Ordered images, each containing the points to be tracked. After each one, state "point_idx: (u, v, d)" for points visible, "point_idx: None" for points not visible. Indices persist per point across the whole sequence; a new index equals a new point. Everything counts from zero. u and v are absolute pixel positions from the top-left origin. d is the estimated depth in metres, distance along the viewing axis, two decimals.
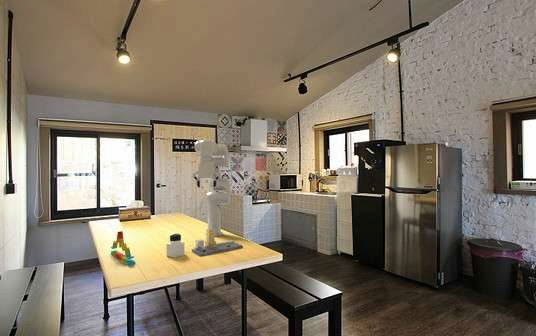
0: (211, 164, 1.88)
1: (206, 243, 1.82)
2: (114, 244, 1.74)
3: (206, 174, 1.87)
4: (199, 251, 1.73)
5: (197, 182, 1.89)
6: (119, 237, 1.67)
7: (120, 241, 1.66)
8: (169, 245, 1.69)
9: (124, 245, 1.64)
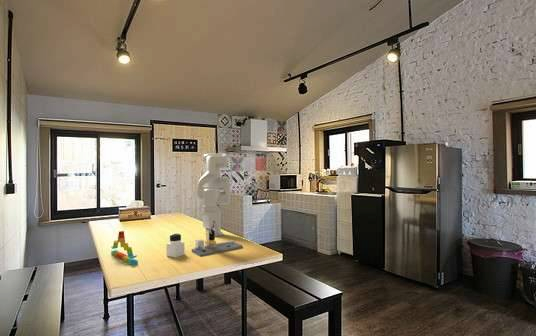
0: None
1: (206, 243, 1.82)
2: (115, 244, 1.74)
3: None
4: (199, 251, 1.73)
5: (213, 234, 1.81)
6: (120, 237, 1.67)
7: (121, 241, 1.67)
8: (169, 245, 1.69)
9: (125, 244, 1.65)
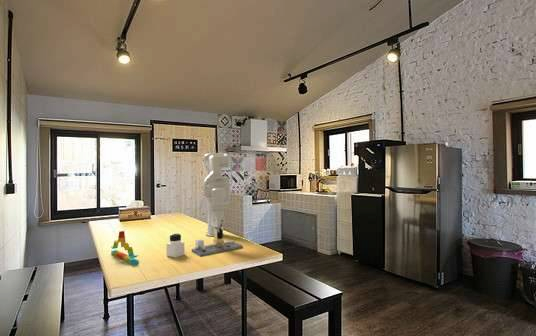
0: None
1: (214, 242, 1.85)
2: (115, 244, 1.74)
3: None
4: (199, 251, 1.73)
5: (221, 233, 1.84)
6: (121, 237, 1.68)
7: (122, 241, 1.67)
8: (169, 245, 1.69)
9: (126, 244, 1.65)
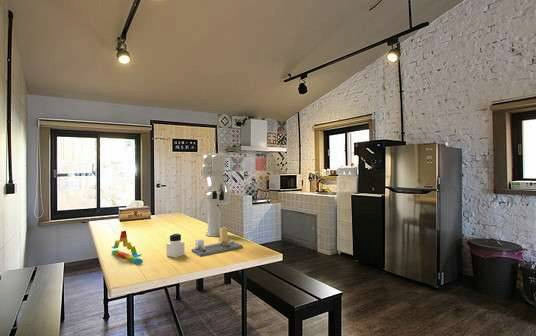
0: None
1: (219, 241, 1.87)
2: (116, 244, 1.75)
3: None
4: (199, 251, 1.73)
5: (223, 195, 1.96)
6: (123, 236, 1.68)
7: (124, 240, 1.68)
8: (169, 245, 1.69)
9: (128, 244, 1.66)
